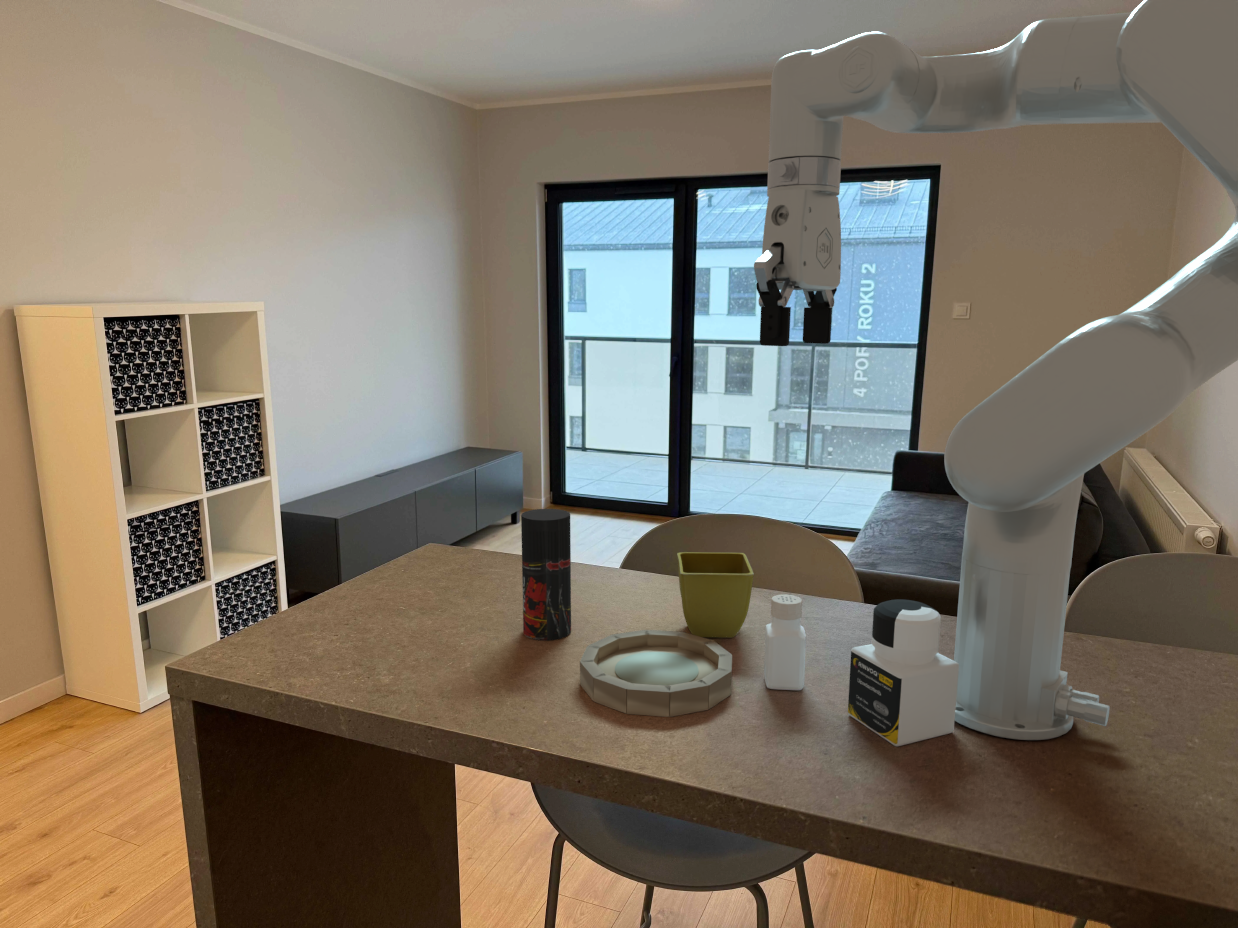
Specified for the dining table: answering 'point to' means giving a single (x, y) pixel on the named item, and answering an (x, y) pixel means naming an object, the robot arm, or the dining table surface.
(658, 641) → the tray
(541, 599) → the deodorant
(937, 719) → the medicine bottle
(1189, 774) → the dining table surface
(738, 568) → the flower pot
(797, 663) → the pepper shaker
